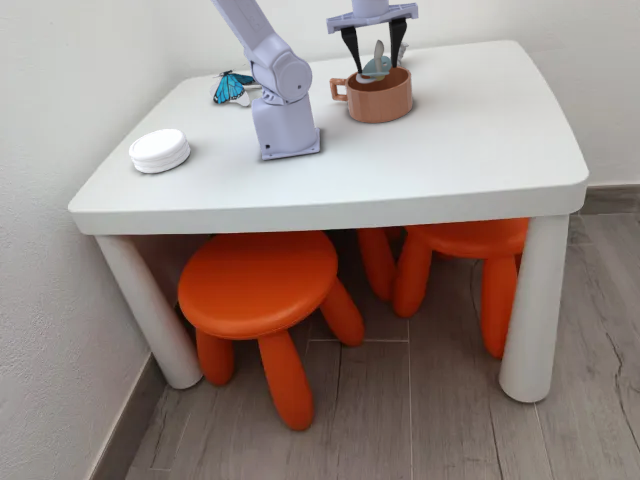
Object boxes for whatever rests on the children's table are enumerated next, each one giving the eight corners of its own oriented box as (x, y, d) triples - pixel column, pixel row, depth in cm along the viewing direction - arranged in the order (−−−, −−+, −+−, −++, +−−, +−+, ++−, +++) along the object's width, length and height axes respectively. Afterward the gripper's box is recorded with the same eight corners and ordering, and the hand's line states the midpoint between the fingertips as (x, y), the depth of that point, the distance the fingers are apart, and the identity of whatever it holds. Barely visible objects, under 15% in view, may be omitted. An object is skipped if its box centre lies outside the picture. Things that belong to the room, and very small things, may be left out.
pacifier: (353, 88, 85) (388, 85, 83) (347, 51, 81) (384, 47, 79) (360, 71, 90) (393, 67, 89) (355, 35, 86) (389, 31, 85)
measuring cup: (422, 96, 91) (420, 66, 88) (397, 125, 84) (394, 94, 81) (347, 90, 99) (343, 63, 95) (318, 117, 92) (313, 88, 88)
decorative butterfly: (218, 68, 109) (255, 54, 104) (232, 95, 112) (269, 83, 107) (195, 88, 102) (234, 74, 97) (211, 116, 105) (250, 105, 100)
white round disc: (186, 139, 94) (180, 122, 92) (195, 162, 86) (188, 144, 84) (133, 156, 92) (126, 139, 90) (137, 181, 84) (129, 163, 82)
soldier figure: (365, 86, 101) (376, 46, 107) (385, 99, 103) (395, 59, 108) (388, 62, 95) (398, 21, 100) (409, 76, 96) (418, 35, 102)
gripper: (322, -3, 75) (335, 84, 83) (420, -21, 74) (423, 70, 82) (321, -14, 80) (334, 69, 89) (412, -31, 79) (416, 55, 88)
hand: (376, 68), depth 86 cm, fingers closed on pacifier, 5 cm apart
